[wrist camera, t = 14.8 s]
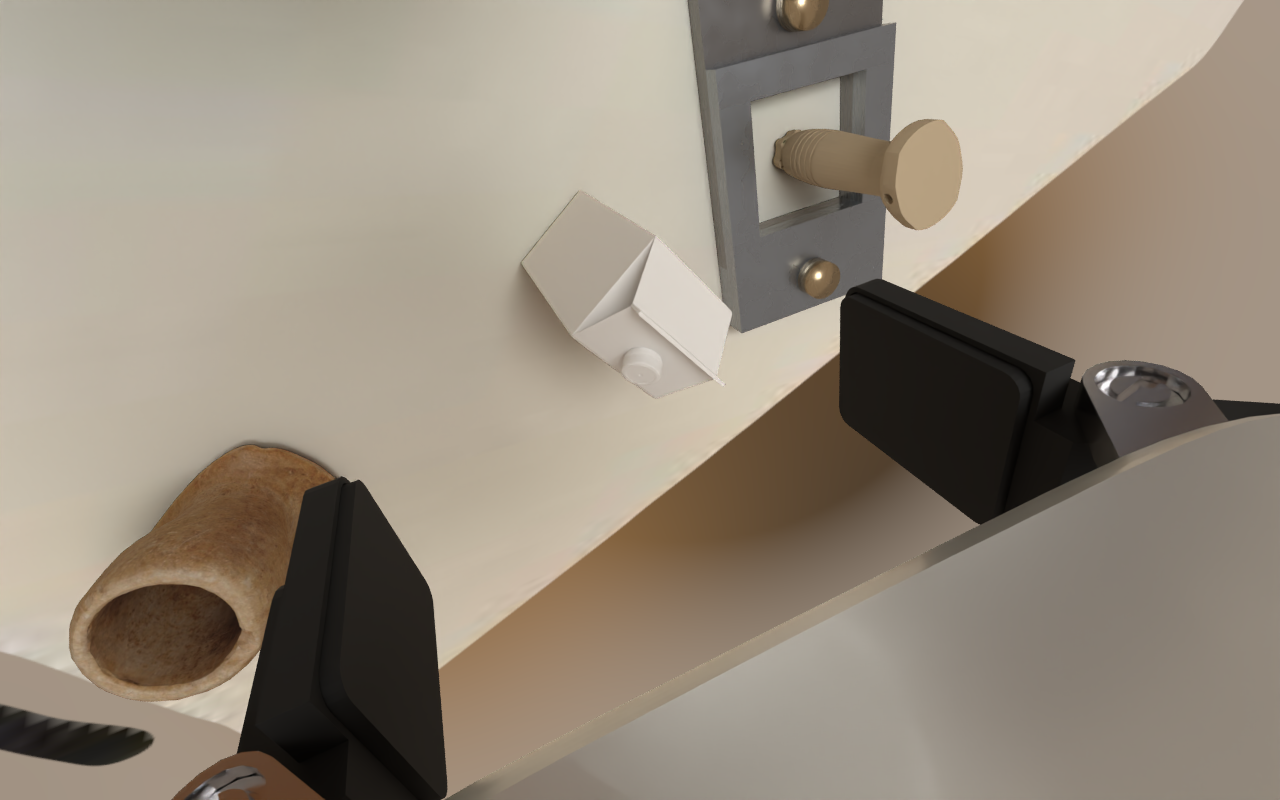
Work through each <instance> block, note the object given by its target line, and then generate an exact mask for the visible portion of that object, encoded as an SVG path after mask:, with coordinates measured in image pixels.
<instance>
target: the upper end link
mask: <svg viewBox="0 0 1280 800" xmlns="http://www.w3.org/2000/svg"><path fill="white" fill-rule="evenodd" d="M895 34H896V23H887V24H880V25H876V26H872V27H868V28H865V29H861V30H857V31H853V32H849V33H845V34H842V35H838V36H834V37H830V38H826V39H822V40H819V41H815V42H811V43H807V44H803V45H799V46H795V47H792V48H788V49H784V50H780V51H776V52H772V53H769V54H765V55H761V56H757V57H753V58H749V59H746V60H742V61H738V62H734V63H730V64H726V65H723V66H719V67H715V68H711V69H707V70H705V71H706V80H707V89H708V98H709V107H710V117H711V126H712V135H713V144H714V154H715V163H716V172H717V181H718V190H719V200H720V209H721V218H722V227H723V236H724V246H725V255H726V264H727V270H726V269H724V268H722V267H721V266H719V271H720V279H721V288H722V297H723V303H724V304H725V305H726V306H727V307H728V308H729V309H730V310H731V311H732V317H731V321H730V325H731V326H732V327H734V328H735V329H737V330H738V331H739V332H741V333H744V332H747V331H749V330H752V329H755V328H757V327H760V326H763V325H765V324H768V323H771V322H773V321H776V320H779V319H781V318H784V317H787V316H789V315H792V314H795V313H798V312H800V311H803V310H806V309H808V308H811V307H814V306H816V305H819V304H822V303H824V302H827V301H830V300H832V299H835V298H838V297H840V296H843V295H846V294H847V291H848V290H849V289H850V288H852V287H855V286H857V285H860V284H863V283H865V282H868V281H871V280H874V279H882V267H883V249H884V231H885V213H886V207H885V205H884V204H883V202H882V199H881V197H880V196H874V195H868V194H862V193H856V192H851V200H848V201H845V202H842V203H839V204H836V205H833V206H830V207H827V208H824V209H821V210H818V211H815V212H812V213H809V214H806V215H803V216H800V217H797V218H794V219H791V220H788V221H785V222H782V223H779V224H776V225H773V226H770V227H767V228H764V229H761V230H759V216H758V202H757V188H756V174H755V160H754V146H753V132H752V118H751V104H750V101H754V100H757V99H761V98H765V97H768V96H772V95H775V94H779V93H783V92H786V91H790V90H793V89H797V88H800V87H804V86H808V85H811V84H815V83H818V82H822V81H826V80H829V79H833V78H836V77H840V76H844V75H847V74H851V73H853V109H852V133H853V134H857V135H862V136H866V137H871V138H875V139H880V140H885V141H890V124H891V106H892V88H893V70H894V52H895Z"/></svg>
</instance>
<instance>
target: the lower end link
mask: <svg viewBox="0 0 1280 800" xmlns="http://www.w3.org/2000/svg"><path fill="white" fill-rule="evenodd" d="M688 5H689V14H690V23H691V31H692V40H693V48H694V57H695V65H696V74H697V83H698V91H699V100H700V108H701V117H702V125H703V134H704V142H705V151H706V160H707V168H708V177H709V185H710V194H711V202H712V211H713V220H714V228H715V237H716V245H717V254H718V262H719V266H721V267H722V268H724V269H726V270H727V264H726V255H725V246H724V236H723V227H722V218H721V209H720V200H719V190H718V181H717V172H716V163H715V154H714V144H713V135H712V126H711V117H710V107H709V98H708V89H707V80H706V71H705V70H707V69H711V68H715V67H719V66H723V65H726V64H730V63H734V62H738V61H742V60H746V59H749V58H753V57H757V56H761V55H765V54H769V53H772V52H776V51H780V50H784V49H788V48H792V47H795V46H799V45H803V44H807V43H811V42H815V41H819V40H822V39H826V38H830V37H834V36H838V35H842V34H845V33H849V32H853V31H857V30H861V29H865V28H868V27H872V26H876V25H880V24H882V6H883V0H688ZM852 109H853V73H851V74H847V75H844V76H841V95H840V131H844V132H848V133H852ZM848 200H851V192H849V191H842V190H840V197H837V198H834V199H831V200H828V201H825V202H822V203H819V204H816V205H813V206H810V207H807V208H804V209H801V210H798V211H795V212H792V213H789V214H786V215H783V216H780V217H777V218H774V219H771V220H767V221H764V222H761V223H759V230H761V229H764V228H767V227H770V226H773V225H776V224H779V223H782V222H785V221H788V220H791V219H794V218H797V217H800V216H803V215H806V214H809V213H812V212H815V211H818V210H821V209H824V208H827V207H830V206H833V205H836V204H839V203H842V202H845V201H848Z"/></svg>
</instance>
